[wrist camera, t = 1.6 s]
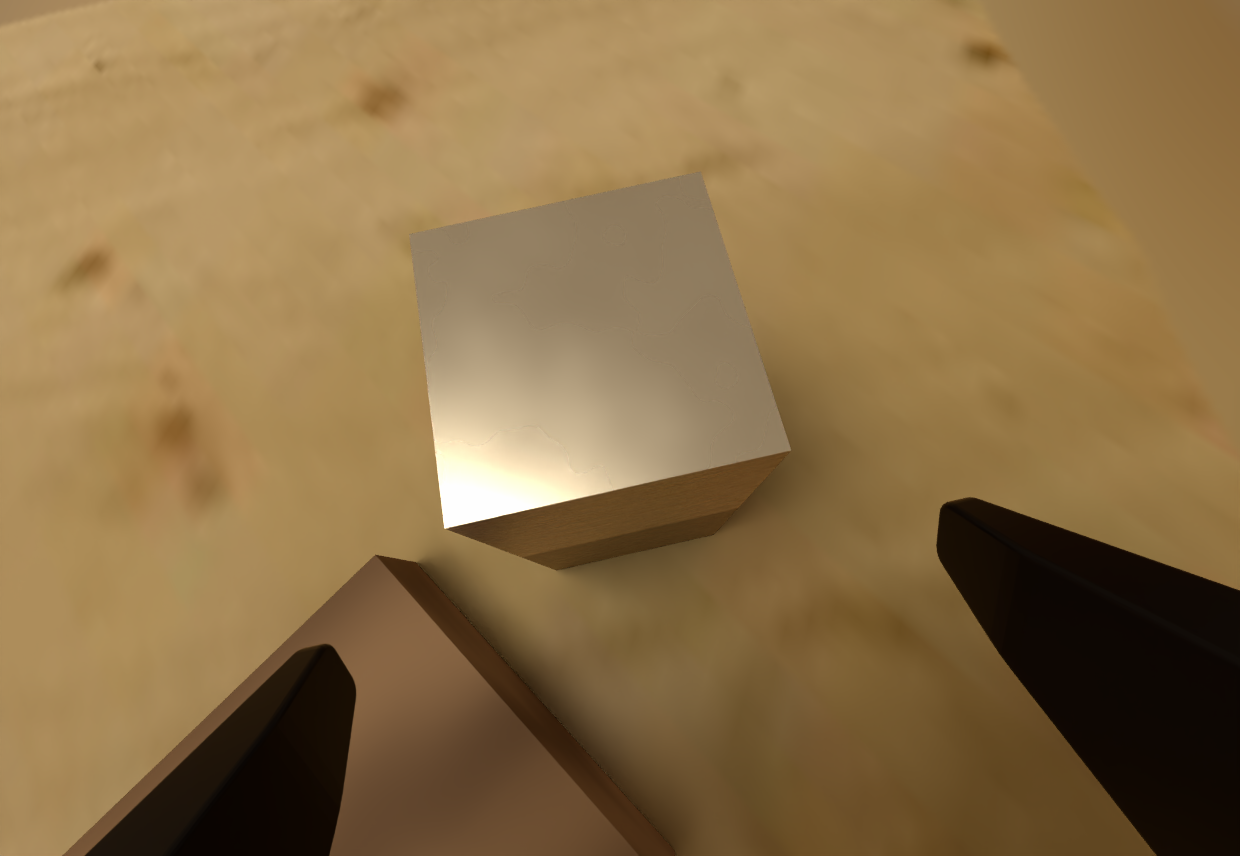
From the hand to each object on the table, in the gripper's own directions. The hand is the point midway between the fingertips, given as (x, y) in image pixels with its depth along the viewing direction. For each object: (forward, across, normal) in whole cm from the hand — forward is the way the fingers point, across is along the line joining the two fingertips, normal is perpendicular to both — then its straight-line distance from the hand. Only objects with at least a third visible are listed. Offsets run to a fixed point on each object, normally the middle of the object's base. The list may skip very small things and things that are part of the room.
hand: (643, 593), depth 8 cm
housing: (+11, 0, +5) cm, 12 cm away
